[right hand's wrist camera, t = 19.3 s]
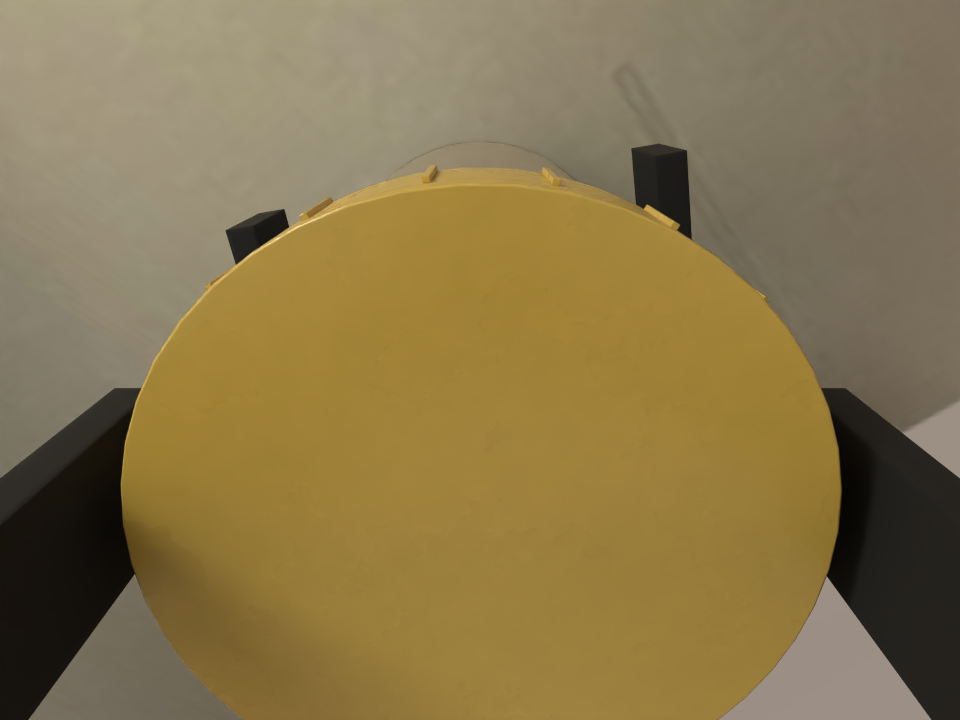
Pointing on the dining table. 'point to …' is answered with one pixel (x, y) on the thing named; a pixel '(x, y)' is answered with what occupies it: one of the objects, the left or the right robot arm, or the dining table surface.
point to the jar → (479, 159)
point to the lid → (481, 464)
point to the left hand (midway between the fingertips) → (453, 184)
